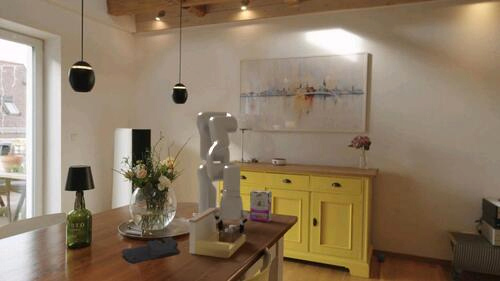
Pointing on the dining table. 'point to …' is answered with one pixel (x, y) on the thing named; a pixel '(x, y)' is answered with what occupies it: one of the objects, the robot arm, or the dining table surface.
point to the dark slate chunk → (151, 251)
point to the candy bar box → (260, 205)
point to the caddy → (230, 233)
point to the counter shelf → (210, 237)
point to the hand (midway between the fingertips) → (231, 231)
